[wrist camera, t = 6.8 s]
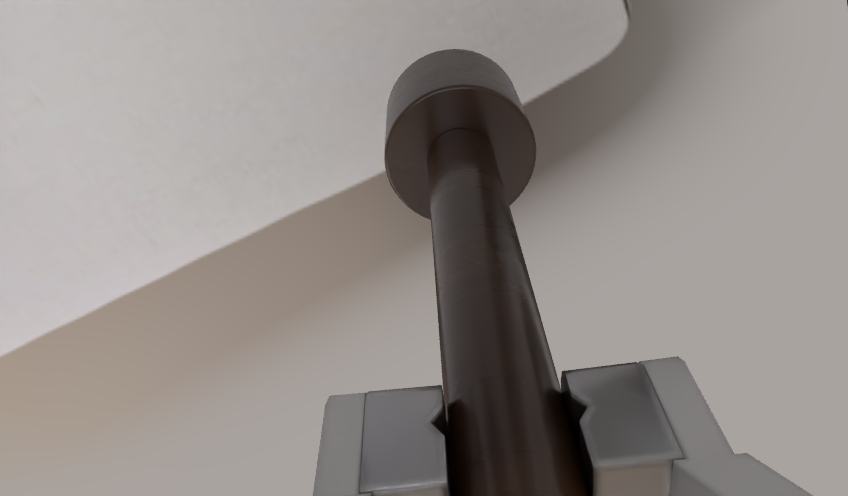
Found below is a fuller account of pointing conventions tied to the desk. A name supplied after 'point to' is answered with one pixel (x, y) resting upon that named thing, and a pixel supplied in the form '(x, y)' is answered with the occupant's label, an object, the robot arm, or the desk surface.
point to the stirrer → (482, 275)
